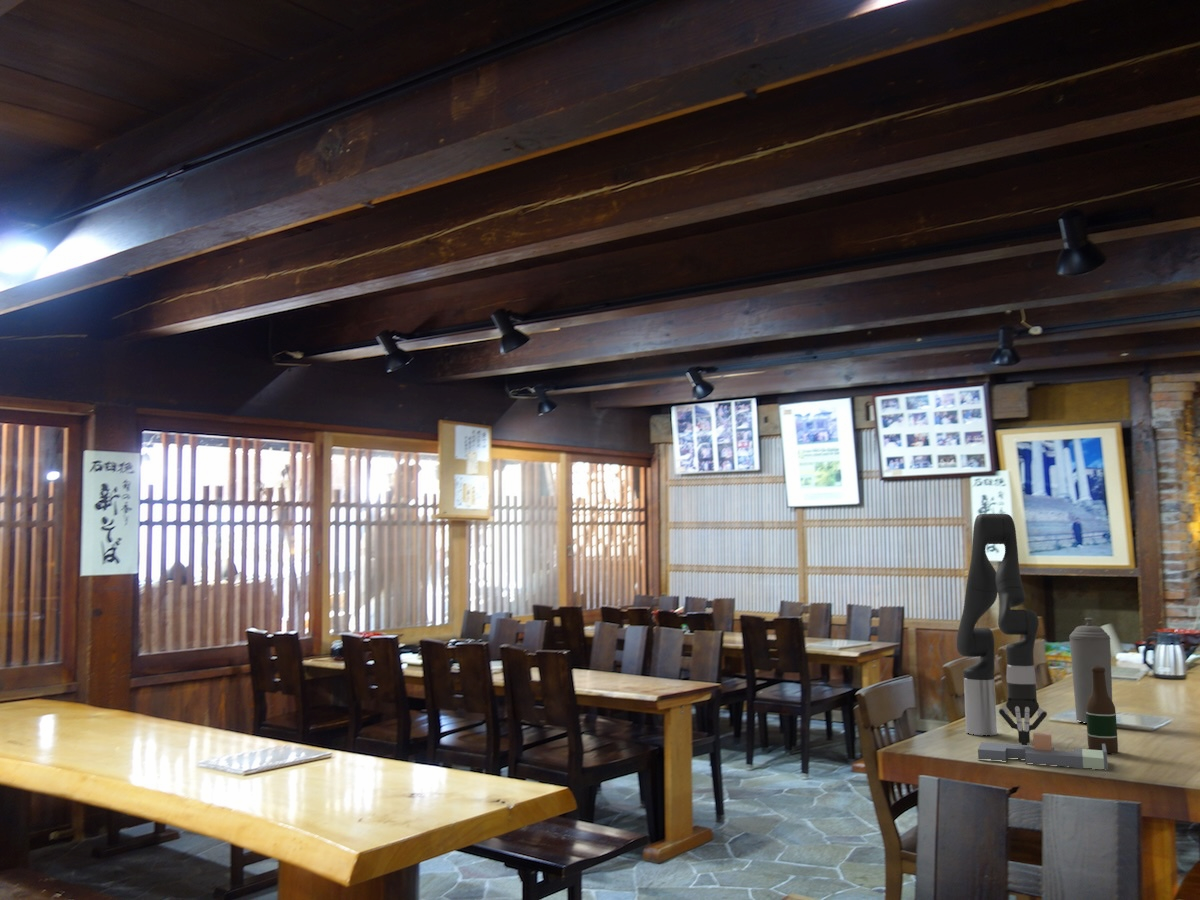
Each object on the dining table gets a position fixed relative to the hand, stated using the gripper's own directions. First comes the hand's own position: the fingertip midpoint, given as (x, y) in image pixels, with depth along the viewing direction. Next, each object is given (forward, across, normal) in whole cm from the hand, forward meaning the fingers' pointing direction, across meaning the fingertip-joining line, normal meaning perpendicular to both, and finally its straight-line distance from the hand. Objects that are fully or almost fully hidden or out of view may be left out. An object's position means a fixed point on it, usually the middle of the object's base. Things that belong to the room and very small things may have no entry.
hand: (1024, 744), depth 273 cm
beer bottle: (+4, -20, -19) cm, 28 cm away
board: (+4, -4, +2) cm, 6 cm away
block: (+1, -5, 0) cm, 5 cm away
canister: (+4, -19, -72) cm, 75 cm away
